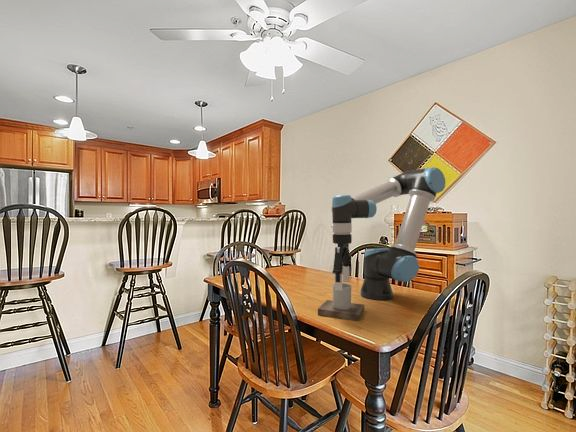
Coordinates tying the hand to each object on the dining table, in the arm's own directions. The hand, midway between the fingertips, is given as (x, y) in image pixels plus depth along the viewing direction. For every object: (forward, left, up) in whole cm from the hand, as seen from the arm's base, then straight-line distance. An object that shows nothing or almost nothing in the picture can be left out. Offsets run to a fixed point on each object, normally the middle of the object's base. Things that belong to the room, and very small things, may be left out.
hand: (342, 285), depth 122 cm
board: (0, 0, -11) cm, 11 cm away
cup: (0, 0, -9) cm, 9 cm away
